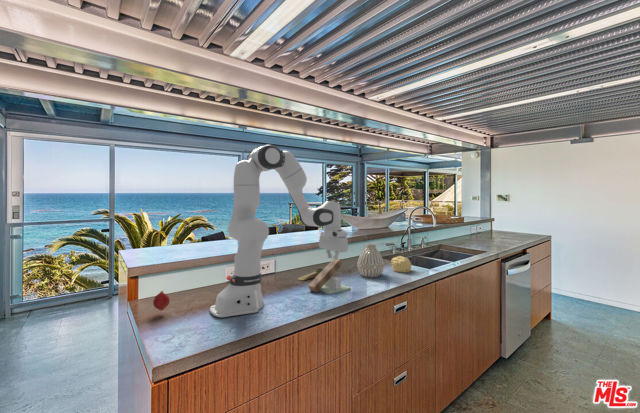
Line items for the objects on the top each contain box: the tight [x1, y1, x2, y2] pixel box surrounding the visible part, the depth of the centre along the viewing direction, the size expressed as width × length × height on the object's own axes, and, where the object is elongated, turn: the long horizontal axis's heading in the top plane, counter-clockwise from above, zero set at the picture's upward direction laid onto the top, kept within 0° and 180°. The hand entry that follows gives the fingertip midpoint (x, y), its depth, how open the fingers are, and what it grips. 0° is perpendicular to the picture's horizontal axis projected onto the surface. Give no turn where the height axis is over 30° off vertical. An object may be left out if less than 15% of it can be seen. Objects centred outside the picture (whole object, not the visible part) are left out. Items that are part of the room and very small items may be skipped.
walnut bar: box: [307, 258, 344, 293], centre depth 153 cm, size 22×3×5 cm
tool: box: [297, 268, 324, 281], centre depth 173 cm, size 22×6×5 cm, turn 114°
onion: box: [152, 290, 170, 311], centre depth 121 cm, size 6×6×8 cm
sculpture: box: [390, 255, 412, 273], centre depth 189 cm, size 11×12×11 cm
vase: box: [356, 243, 385, 278], centre depth 178 cm, size 16×16×20 cm
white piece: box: [319, 275, 352, 295], centre depth 152 cm, size 14×13×6 cm
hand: (332, 258), depth 152 cm, fingers open, 4 cm apart
